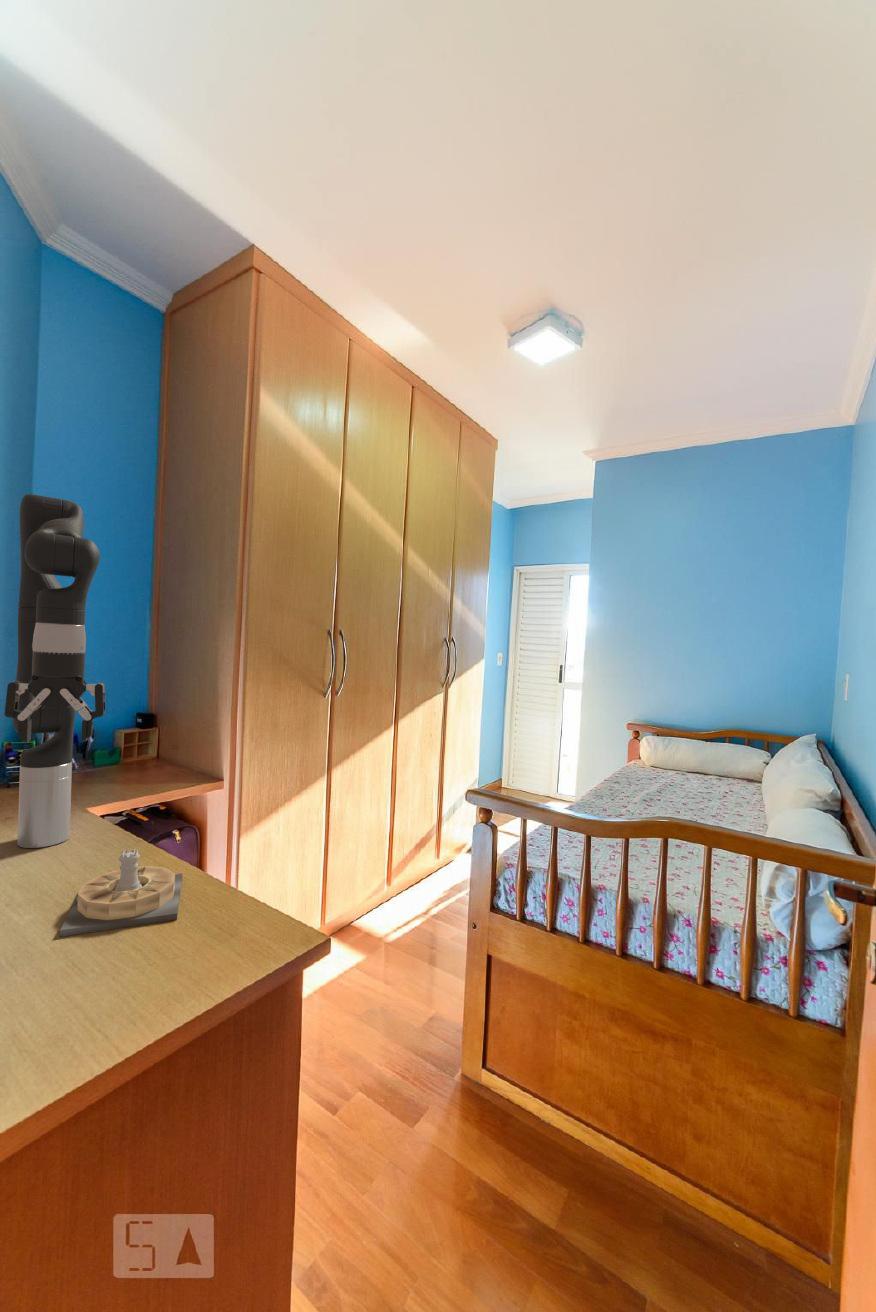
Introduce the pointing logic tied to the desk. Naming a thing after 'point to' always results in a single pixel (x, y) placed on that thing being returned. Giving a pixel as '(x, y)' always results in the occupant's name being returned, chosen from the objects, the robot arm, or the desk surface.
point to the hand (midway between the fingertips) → (56, 741)
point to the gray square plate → (124, 902)
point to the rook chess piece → (128, 871)
